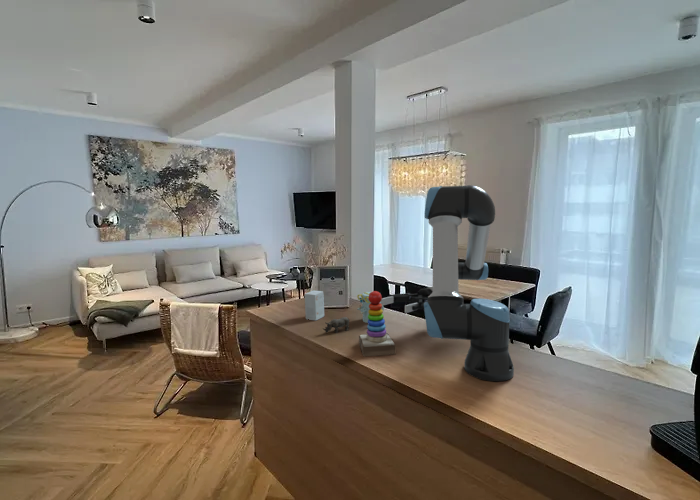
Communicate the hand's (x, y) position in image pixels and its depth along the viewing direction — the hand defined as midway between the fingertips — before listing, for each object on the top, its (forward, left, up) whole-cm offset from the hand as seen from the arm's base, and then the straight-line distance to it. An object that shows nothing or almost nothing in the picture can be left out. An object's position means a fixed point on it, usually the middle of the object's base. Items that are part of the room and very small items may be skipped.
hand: (392, 305), depth 141 cm
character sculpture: (+30, +5, -16) cm, 34 cm away
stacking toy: (-5, +7, -12) cm, 15 cm away
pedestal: (-4, +8, -16) cm, 18 cm away
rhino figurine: (+18, +22, -16) cm, 32 cm away
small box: (+40, +31, -16) cm, 53 cm away
